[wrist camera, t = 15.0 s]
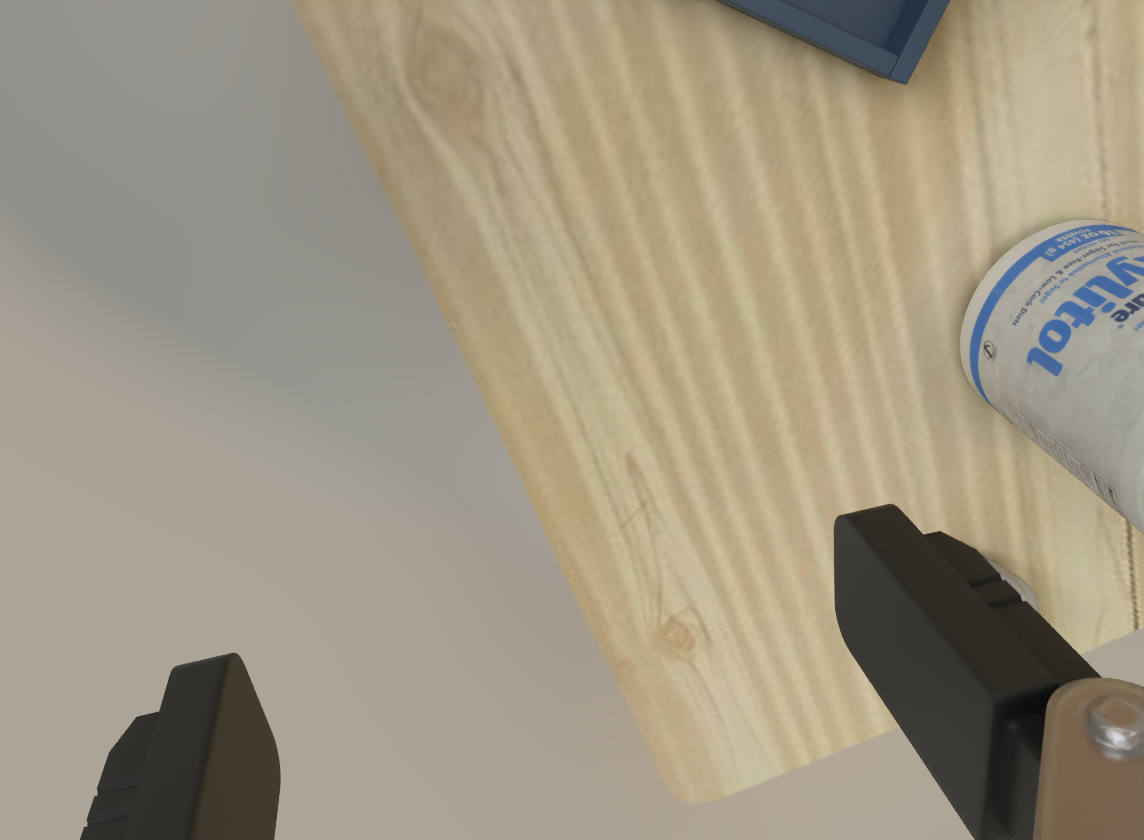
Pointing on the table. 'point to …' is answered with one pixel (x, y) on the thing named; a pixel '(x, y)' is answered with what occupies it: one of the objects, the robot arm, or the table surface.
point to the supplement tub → (1068, 352)
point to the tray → (856, 29)
